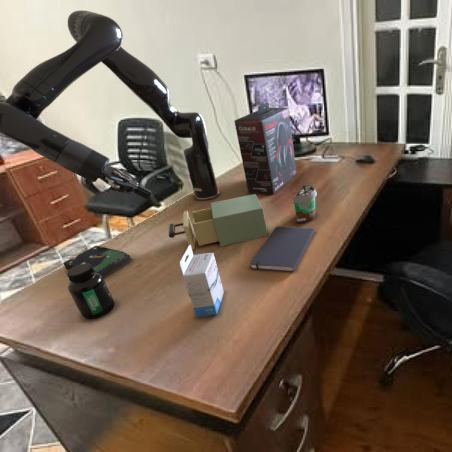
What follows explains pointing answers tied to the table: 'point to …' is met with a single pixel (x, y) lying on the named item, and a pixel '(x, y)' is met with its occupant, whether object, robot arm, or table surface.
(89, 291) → the supplement bottle
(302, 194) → the food container
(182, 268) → the ink box
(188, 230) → the drawer
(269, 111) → the headset box
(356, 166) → the table surface
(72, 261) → the disk drive
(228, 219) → the cabinet
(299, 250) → the notebook
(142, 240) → the table surface
